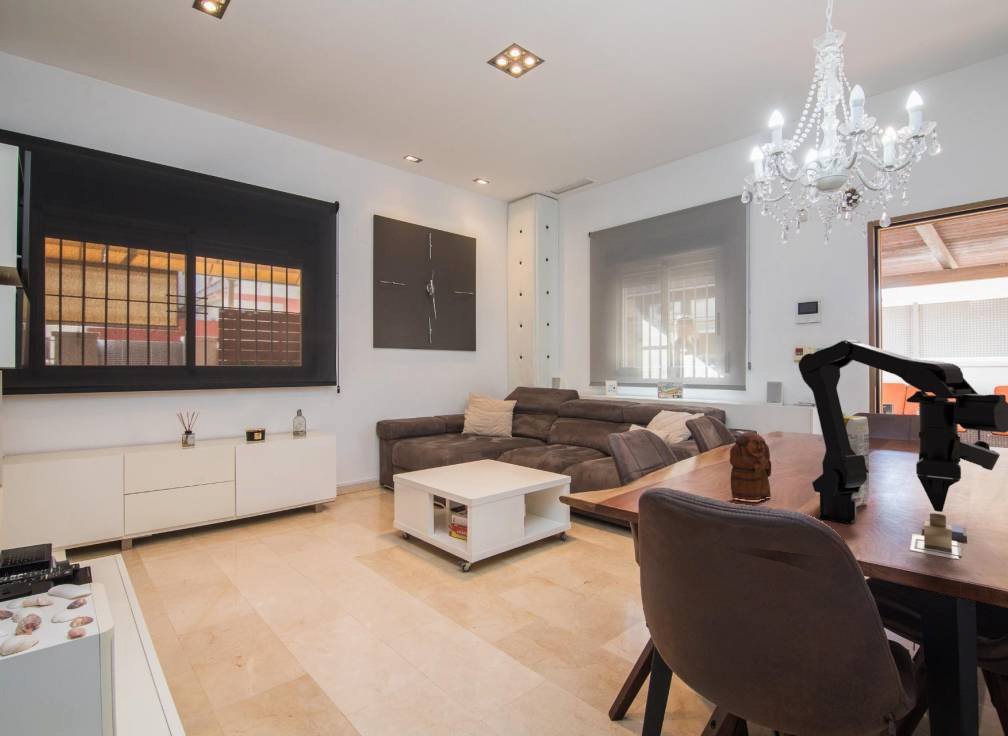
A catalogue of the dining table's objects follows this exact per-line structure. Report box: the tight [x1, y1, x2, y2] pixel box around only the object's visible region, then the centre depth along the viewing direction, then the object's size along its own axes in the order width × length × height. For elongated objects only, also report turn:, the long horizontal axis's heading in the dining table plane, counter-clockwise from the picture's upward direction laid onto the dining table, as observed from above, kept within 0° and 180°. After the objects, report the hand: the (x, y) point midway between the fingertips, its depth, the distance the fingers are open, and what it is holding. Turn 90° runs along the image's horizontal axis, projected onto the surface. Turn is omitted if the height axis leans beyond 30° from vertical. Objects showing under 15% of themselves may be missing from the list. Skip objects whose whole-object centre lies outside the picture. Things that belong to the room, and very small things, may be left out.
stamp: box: [923, 512, 953, 553], centre depth 98 cm, size 4×4×6 cm
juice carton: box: [824, 411, 870, 508], centre depth 130 cm, size 9×8×24 cm
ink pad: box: [921, 520, 968, 543], centre depth 107 cm, size 7×7×2 cm
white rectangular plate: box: [909, 533, 962, 560], centre depth 99 cm, size 7×12×1 cm, turn 139°
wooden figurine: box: [729, 432, 772, 500], centre depth 135 cm, size 12×6×18 cm, turn 119°
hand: (938, 506), depth 98 cm, fingers open, 9 cm apart
